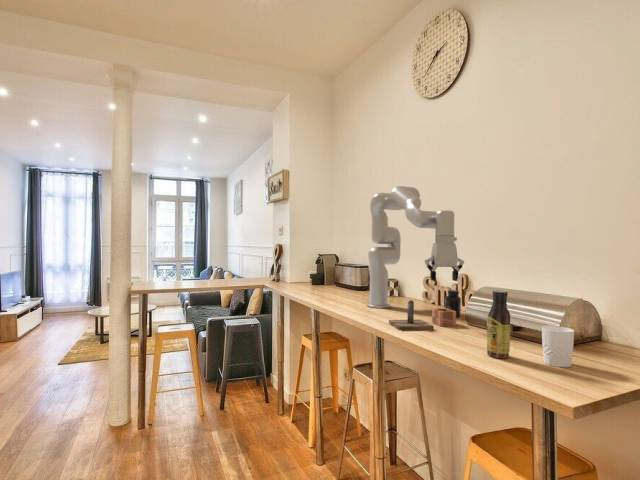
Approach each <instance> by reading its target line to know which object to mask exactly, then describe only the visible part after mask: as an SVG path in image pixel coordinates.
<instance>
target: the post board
mask: <svg viewBox="0 0 640 480" xmlns="http://www.w3.org/2000/svg"><path fill="white" fill-rule="evenodd" d="M414 309H415V303H414V301H413V300H411V299H410V300H408V301H407V319H388V324H389V325H390V326H391V327H394V328H395V330H396V329H397V330H398V331H400V330H403V331H433V330H434V325H432V324H430V323H428V322H426V321H424V320H422V319H415V318H414V316H415V311H414ZM400 332H401V331H400Z"/></svg>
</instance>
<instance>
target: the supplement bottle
mask: <svg viewBox="0 0 640 480" xmlns="http://www.w3.org/2000/svg"><path fill="white" fill-rule="evenodd" d="M459 292H460V291H459V290H456V289H449V290H447V294H448V295H446V296H445V302H444V303H445V304H444V305H445V307H444V308H448V309H451V310H453V311H456V318H460V317H461V310H462V309H461V308H462V307H461V306H462V304H461V303H462V301H461V300H462V298H461V297H460V296H459V295H460V293H459Z"/></svg>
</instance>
